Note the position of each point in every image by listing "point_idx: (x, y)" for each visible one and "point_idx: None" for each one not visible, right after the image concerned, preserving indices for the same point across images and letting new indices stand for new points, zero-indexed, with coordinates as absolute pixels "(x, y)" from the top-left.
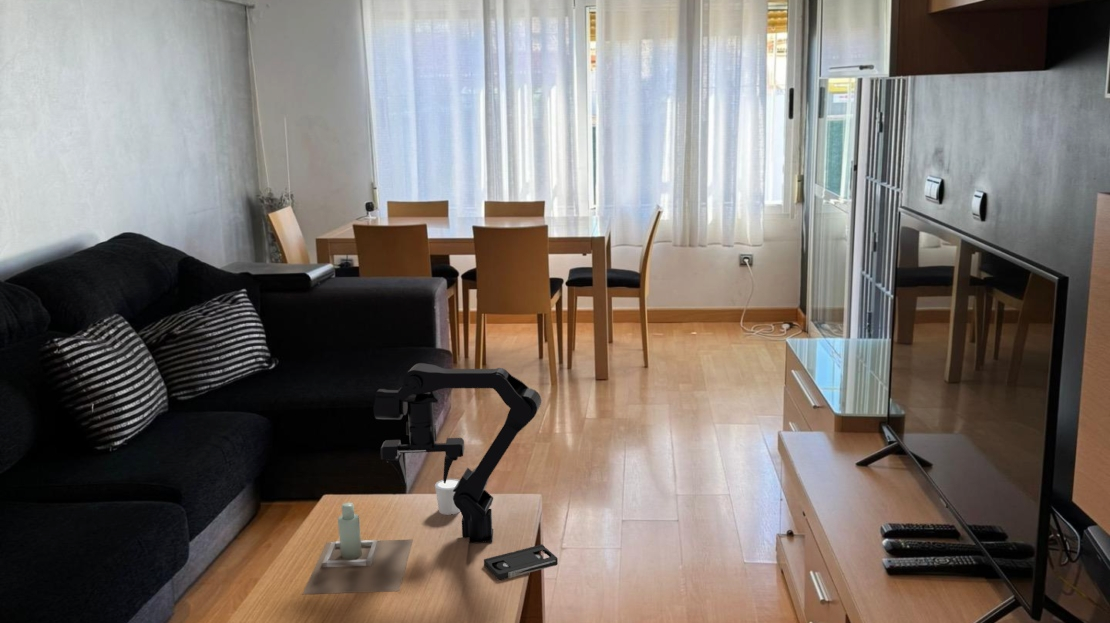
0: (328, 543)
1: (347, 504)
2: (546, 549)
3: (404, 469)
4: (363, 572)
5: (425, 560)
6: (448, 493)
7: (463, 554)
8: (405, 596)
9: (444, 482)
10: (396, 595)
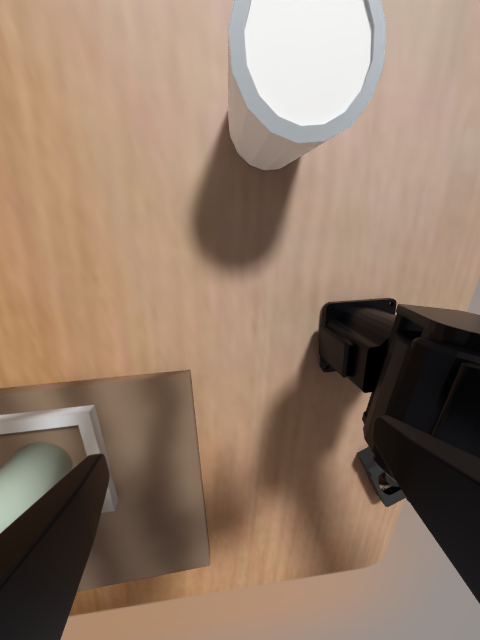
0: None
1: None
2: None
3: (12, 590)
4: (112, 524)
5: (236, 444)
6: (300, 147)
7: (317, 414)
8: (221, 554)
9: (380, 446)
10: None
